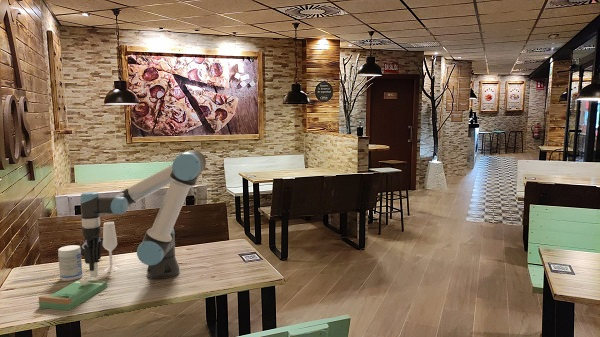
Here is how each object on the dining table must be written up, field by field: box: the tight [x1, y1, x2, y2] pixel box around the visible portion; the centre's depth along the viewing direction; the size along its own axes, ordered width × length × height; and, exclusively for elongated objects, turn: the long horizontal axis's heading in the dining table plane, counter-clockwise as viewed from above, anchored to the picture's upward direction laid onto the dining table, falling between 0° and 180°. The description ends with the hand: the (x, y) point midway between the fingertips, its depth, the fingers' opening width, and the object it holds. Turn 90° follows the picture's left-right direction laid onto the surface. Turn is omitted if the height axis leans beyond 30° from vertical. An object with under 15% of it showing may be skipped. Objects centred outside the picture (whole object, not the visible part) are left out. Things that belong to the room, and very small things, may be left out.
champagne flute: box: [102, 221, 120, 273], centre depth 217 cm, size 7×7×24 cm
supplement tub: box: [57, 244, 83, 282], centre depth 207 cm, size 10×10×15 cm
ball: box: [80, 278, 89, 286], centre depth 192 cm, size 3×3×3 cm
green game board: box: [38, 278, 108, 311], centre depth 186 cm, size 14×24×4 cm, turn 169°
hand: (94, 276), depth 199 cm, fingers closed
